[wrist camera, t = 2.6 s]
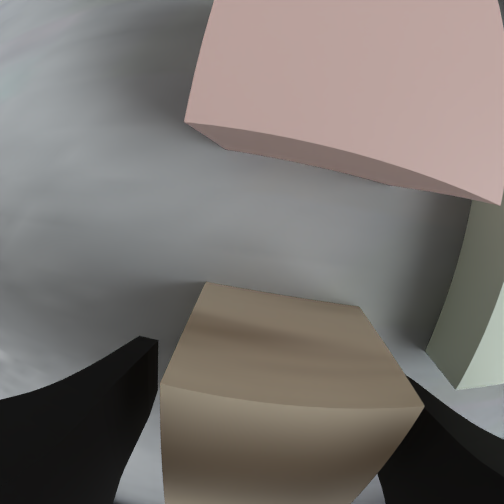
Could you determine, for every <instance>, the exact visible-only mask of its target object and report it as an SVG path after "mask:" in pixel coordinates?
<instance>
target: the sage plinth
mask: <svg viewBox="0 0 504 504" xmlns="http://www.w3.org/2000/svg"><path fill="white" fill-rule="evenodd" d="M425 352H426V353H427V354H428V356H429V357H430V358H431V359H432V361H433V362H434V363H435V364H436V366H437V367H438V368H439V369H440V371H441V372H442V373H443V374H444V376H445V377H446V378H447V380H448V381H449V382H450V383H451V385H452V386H453V387H454V389H455V390H462V389H470V388H478V387H485V386H491V385H498V384H503V383H504V189H503V196H502V201H501V206H499V205H495V204H490V203H486V202H481V201H476V200H472V203H471V208H470V213H469V218H468V223H467V227H466V232H465V236H464V240H463V244H462V248H461V252H460V255H459V259H458V262H457V266H456V269H455V272H454V276H453V279H452V282H451V285H450V288H449V291H448V294H447V297H446V300H445V303H444V306H443V308H442V311H441V314H440V316H439V319H438V322H437V324H436V327H435V329H434V332H433V334H432V336H431V339H430V341H429V343H428V346H427V348H426V350H425Z"/></svg>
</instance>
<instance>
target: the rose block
mask: <svg viewBox="0 0 504 504" xmlns="http://www.w3.org/2000/svg"><path fill="white" fill-rule="evenodd" d="M184 122H185V123H186V124H188V125H189V126H191V127H193V128H194V129H196V130H197V131H199V132H200V133H202V134H203V135H205V136H206V137H208V138H209V139H211V140H212V141H214V142H215V143H217V144H218V145H220V146H221V147H223V148H224V149H225V150H230V151H237V152H243V153H249V154H255V155H261V156H266V157H271V158H277V159H282V160H287V161H292V162H297V163H302V164H306V165H311V166H315V167H320V168H324V169H329V170H333V171H337V172H341V173H345V174H349V175H353V176H357V177H361V178H365V179H368V180H372V181H376V182H379V183H383V184H386V185H390V186H397V187H404V188H410V189H417V190H423V191H429V192H435V193H440V194H446V195H451V196H456V197H462V198H467V199H471V200H476V201H481V202H486V203H490V204H495V205H499V206H501V201H502V196H503V189H504V29H503V24H502V18H501V13H500V9H499V4H498V0H214V2H213V6H212V9H211V12H210V16H209V19H208V23H207V26H206V30H205V34H204V37H203V41H202V45H201V49H200V53H199V57H198V61H197V65H196V69H195V73H194V77H193V82H192V86H191V91H190V95H189V100H188V105H187V110H186V115H185V120H184Z"/></svg>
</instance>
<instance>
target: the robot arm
mask: <svg viewBox="0 0 504 504" xmlns="http://www.w3.org/2000/svg"><path fill="white" fill-rule="evenodd" d="M406 377H407V379H408V380H409V382H410V383H411V385H412V386H413V388H414V390H415V391H416V393H417V394H418V396H419V398H420V399H421V401H422V402H423V404H424V406H425V407H424V408H423V410H422V412H421V413H420V415H419V416H418V418H417V420H416V421H415V423H414V424H413V426H412V427H411V429H410V430H409V432H408V433H407V435H406V436H405V437H404V439H403V440H402V442H401V443H400V445H399V446H398V447H397V449H396V450H395V451H394V453H393V454H392V455H391V457H390V458H389V459H388V461H387V462H386V463H385V464H384V466H383V467H382V468H381V469H380V471H379V472H378V473H377V474H378V477H379V480H380V483H381V486H382V490H383V494H384V498H385V503H386V504H504V440H503V439H501V438H499V437H497V436H495V435H493V434H491V433H489V432H487V431H485V430H483V429H482V428H480V427H478V426H476V425H475V424H473V423H471V422H470V421H468V420H467V419H465V418H464V417H462V416H461V415H459V414H458V413H456V412H455V411H454V410H452V409H451V408H449V407H448V406H447V405H445V404H444V403H443V402H441V401H440V400H439V399H437V398H436V397H435V396H433V395H432V394H431V393H430V392H428V391H427V390H426V389H424V388H423V387H422V386H420V385H419V384H418V383H416V382H415V381H414V380H412V379H411V378H409V377H408V376H406ZM157 391H158V340H155V339H150V338H146V337H142V336H139V337H137V338H135V339H134V340H132V341H130V342H129V343H127V344H126V345H124V346H122V347H121V348H119V349H118V350H116V351H114V352H113V353H111V354H109V355H108V356H106V357H104V358H103V359H101V360H99V361H98V362H96V363H94V364H92V365H91V366H89V367H87V368H85V369H83V370H81V371H79V372H77V373H75V374H73V375H71V376H69V377H67V378H65V379H63V380H61V381H58V382H56V383H54V384H51V385H49V386H46V387H43V388H40V389H38V390H35V391H32V392H29V393H25V394H21V395H17V396H14V397H10V398H6V399H2V400H0V504H113V501H114V498H115V495H116V491H117V488H118V485H119V482H120V479H121V476H122V474H123V471H124V469H125V466H126V464H127V462H128V460H129V458H130V456H131V454H132V451H133V449H134V447H135V445H136V443H137V441H138V439H139V437H140V435H141V433H142V430H143V428H144V426H145V424H146V422H147V420H148V418H149V415H150V412H151V409H152V406H153V403H154V400H155V397H156V394H157Z"/></svg>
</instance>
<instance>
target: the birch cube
mask: <svg viewBox="0 0 504 504" xmlns="http://www.w3.org/2000/svg"><path fill="white" fill-rule="evenodd" d="M424 407H425V406H424V404H423V402H422V401H421V399H420V398H419V396H418V394H417V393H416V391H415V390H414V388H413V386H412V385H411V383H410V382H409V380H408V379H407V377H406V375H405V374H404V372H403V371H402V369H401V368H400V366H399V365H398V363H397V362H396V360H395V359H394V357H393V356H392V354H391V353H390V351H389V349H388V348H387V347H386V345H385V344H384V342H383V341H382V339H381V338H380V336H379V335H378V333H377V332H376V330H375V329H374V327H373V326H372V324H371V323H370V322H369V320H368V319H367V317H366V316H365V314H364V313H363V311H362V310H361V309H360V307H358V306H350V305H343V304H336V303H330V302H323V301H316V300H310V299H303V298H297V297H291V296H284V295H278V294H272V293H266V292H260V291H254V290H249V289H243V288H237V287H232V286H226V285H220V284H215V283H210V282H206V283H205V285H204V287H203V289H202V291H201V293H200V296H199V298H198V300H197V302H196V304H195V306H194V309H193V311H192V313H191V315H190V317H189V320H188V322H187V324H186V326H185V328H184V331H183V333H182V335H181V337H180V339H179V342H178V344H177V346H176V348H175V351H174V353H173V355H172V357H171V360H170V362H169V364H168V367H167V369H166V371H165V373H164V376H163V378H162V380H161V383H160V428H161V454H162V471H163V485H164V497H165V504H351V503H352V502H353V501H354V499H355V498H356V497H357V496H358V495H359V494H360V493H361V492H362V491H363V490H364V488H365V487H366V486H367V485H368V484H369V483H370V482H371V480H372V479H373V478H374V477H375V476H376V474H377V473H378V472H379V471H380V469H381V468H382V467H383V466H384V464H385V463H386V462H387V461H388V459H389V458H390V457H391V455H392V454H393V453H394V451H395V450H396V449H397V447H398V446H399V445H400V443H401V442H402V440H403V439H404V437H405V436H406V435H407V433H408V432H409V430H410V429H411V427H412V426H413V424H414V423H415V421H416V420H417V418H418V416H419V415H420V413H421V412H422V410H423V408H424Z"/></svg>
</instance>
